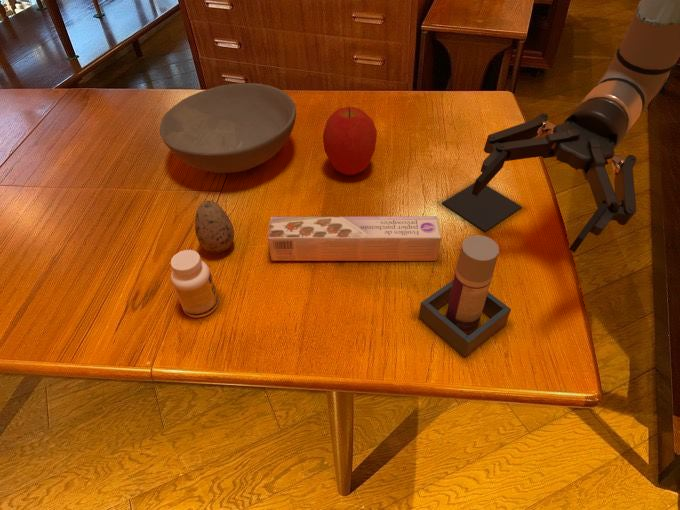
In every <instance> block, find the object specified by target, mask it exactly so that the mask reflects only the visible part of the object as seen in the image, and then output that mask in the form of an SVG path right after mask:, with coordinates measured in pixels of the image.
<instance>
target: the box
mask: <svg viewBox="0 0 680 510" xmlns="http://www.w3.org/2000/svg"><path fill="white" fill-rule="evenodd" d="M268 225H269V226H268V233H267V243H268V247H269V254H270V260H271V261H273V262H274V261H310V262H311V261H312V262H313V261H319V262H320V261H322V262H324V261H327V262H328V261H329V262H330V261H331V262H334V261H335V262H336V261H337V262H338V261H339V262H341V261H342V262H343V261H345V262H346V261H347V262H348V261H350V262H351V261H352V262H353V261H354V262H355V261H358V262H361V261H363V262H366V261H369V262H371V261H372V262H374V261H375V262H376V261H377V262H381V261H383V262H384V261H385V262H389V261H390V262H391V261H392V262H394V261H395V262H399V261H402V262H403V261H404V262H405V261H408V262H409V261H410V262H412V261H413V262H415V261H416V262H417V261H418V262H423V261H424V262H429V261H430V262H431V261H432V262H436V261H438V257H439V251H440V246H441V241H442V234H441V229H440V221H439V218H438V216H437V215H415V216H414V215H397V216H396V215H395V216H394V215H393V216H392V215H387V216H385V215H384V216H383V215H382V216H381V215H380V216H379V215H378V216H377V215H376V216H375V215H374V216H369V215H365V216H359V215H358V216H357V215H356V216H355V215H354V216H271V217H270V220H269V224H268Z"/></svg>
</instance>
